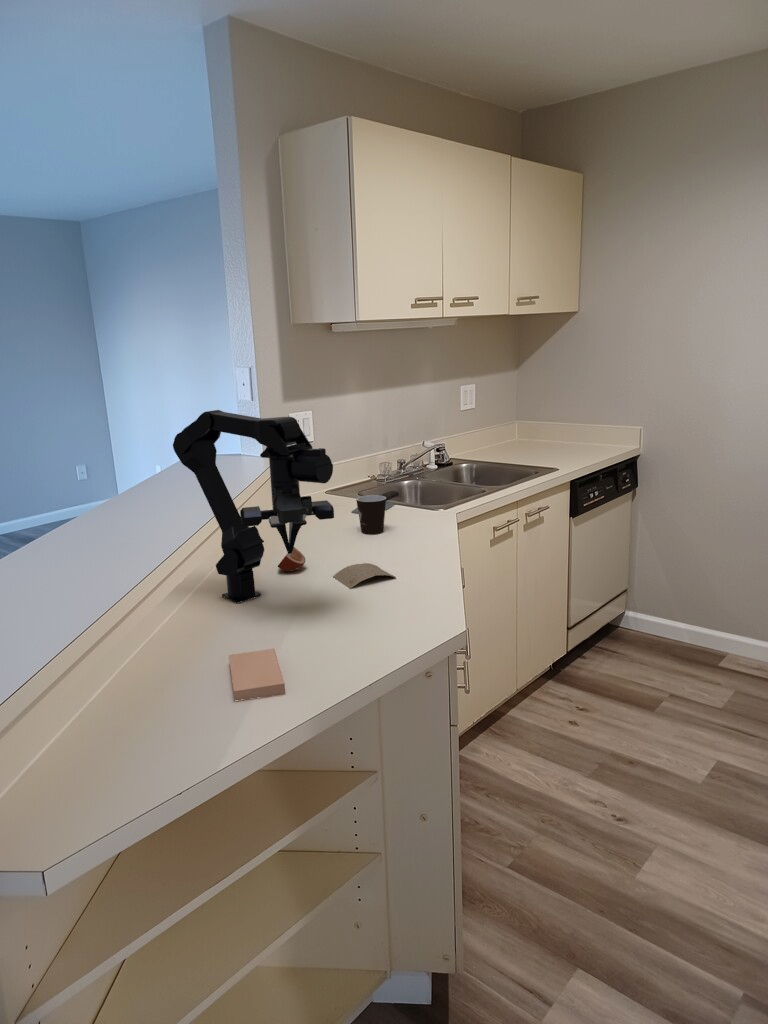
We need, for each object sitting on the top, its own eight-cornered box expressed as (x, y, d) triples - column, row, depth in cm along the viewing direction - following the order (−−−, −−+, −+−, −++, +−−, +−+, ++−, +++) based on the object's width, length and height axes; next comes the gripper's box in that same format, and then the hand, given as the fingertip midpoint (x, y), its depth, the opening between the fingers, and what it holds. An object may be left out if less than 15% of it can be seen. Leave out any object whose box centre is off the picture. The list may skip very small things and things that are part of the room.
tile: (228, 654, 127) (233, 691, 114) (274, 648, 129) (284, 683, 116) (230, 666, 128) (235, 704, 115) (275, 660, 130) (285, 696, 117)
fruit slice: (283, 564, 183) (282, 545, 182) (309, 565, 182) (308, 546, 181) (274, 575, 175) (272, 555, 174) (301, 575, 174) (300, 555, 173)
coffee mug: (384, 536, 206) (383, 501, 204) (355, 535, 207) (353, 501, 205) (390, 525, 217) (389, 493, 215) (362, 525, 219) (361, 492, 216)
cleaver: (385, 495, 260) (385, 489, 259) (411, 496, 256) (410, 491, 255) (349, 515, 234) (348, 509, 233) (376, 517, 230) (376, 511, 229)
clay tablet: (379, 568, 179) (379, 558, 178) (401, 579, 171) (401, 568, 170) (327, 580, 172) (327, 570, 171) (348, 592, 163) (347, 581, 163)
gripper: (240, 491, 138) (246, 569, 141) (337, 483, 142) (340, 559, 146) (237, 480, 148) (243, 553, 152) (327, 473, 152) (331, 544, 156)
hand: (289, 553), depth 151 cm, fingers closed
